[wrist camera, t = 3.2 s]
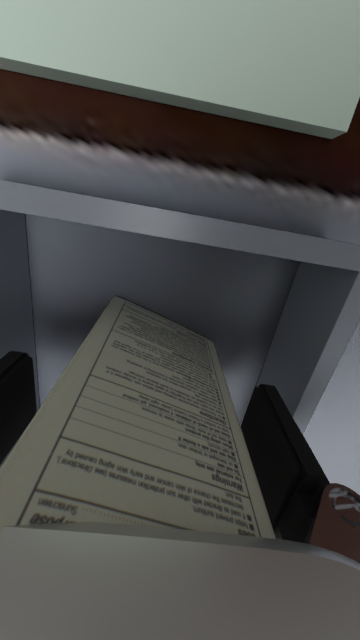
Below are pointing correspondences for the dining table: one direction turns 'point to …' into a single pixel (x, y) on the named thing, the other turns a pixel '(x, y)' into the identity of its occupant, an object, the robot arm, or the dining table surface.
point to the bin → (313, 252)
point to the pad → (199, 54)
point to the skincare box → (136, 437)
